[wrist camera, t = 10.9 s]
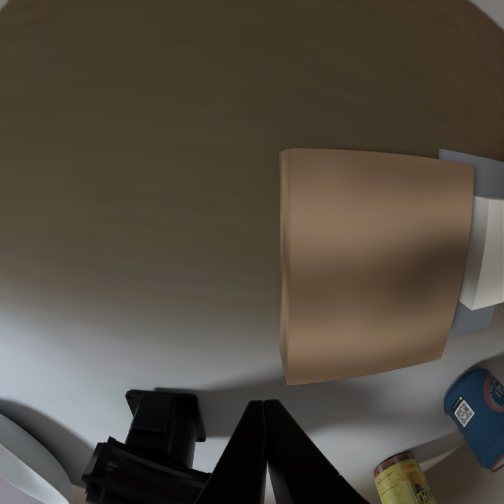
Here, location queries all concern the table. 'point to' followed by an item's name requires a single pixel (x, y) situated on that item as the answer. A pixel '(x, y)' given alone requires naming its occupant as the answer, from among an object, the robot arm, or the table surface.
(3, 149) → the table surface
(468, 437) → the soda can
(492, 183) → the mat
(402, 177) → the tan square plate
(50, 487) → the serving bowl
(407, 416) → the table surface
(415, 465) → the sauce bottle
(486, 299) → the white rectangular block
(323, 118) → the table surface
